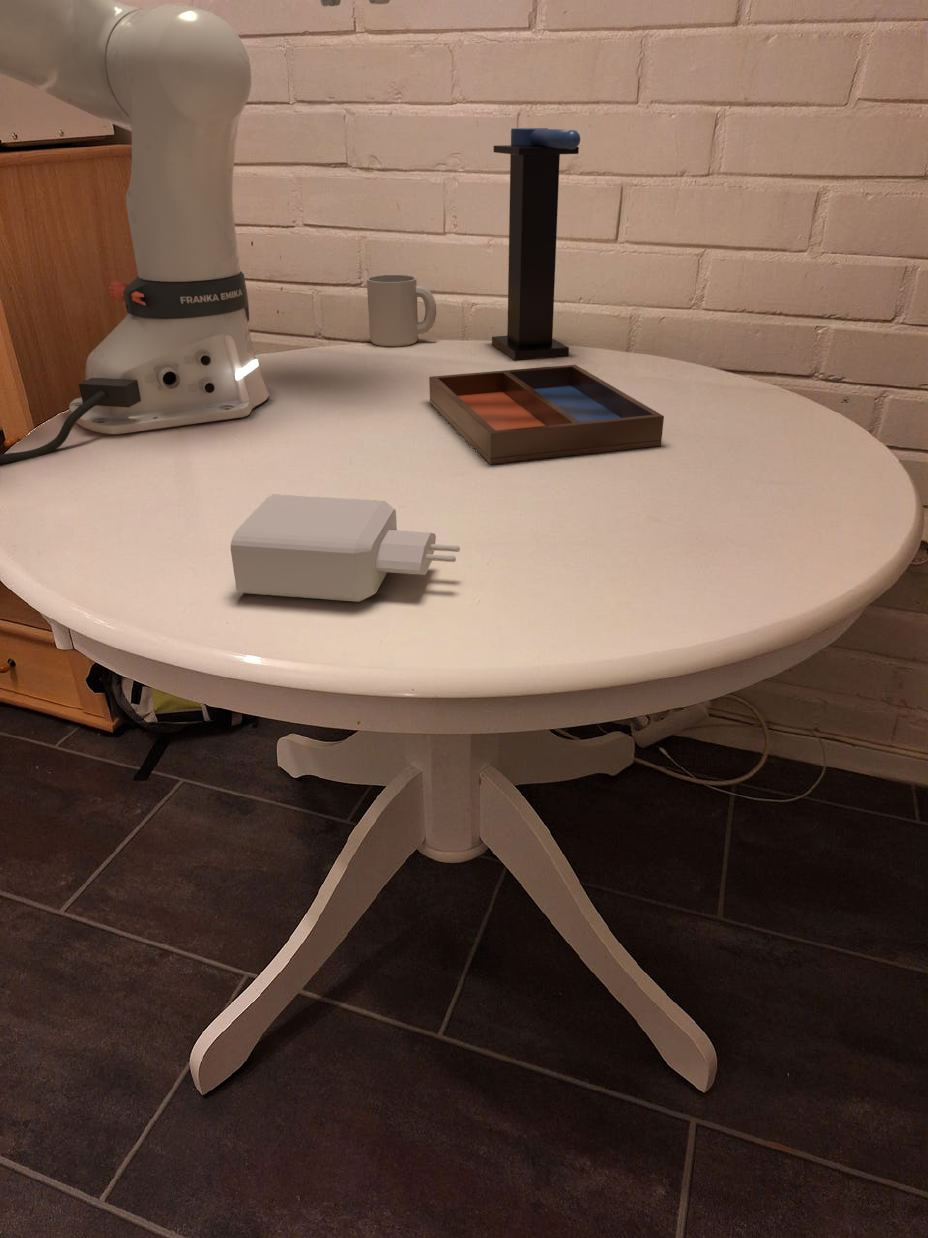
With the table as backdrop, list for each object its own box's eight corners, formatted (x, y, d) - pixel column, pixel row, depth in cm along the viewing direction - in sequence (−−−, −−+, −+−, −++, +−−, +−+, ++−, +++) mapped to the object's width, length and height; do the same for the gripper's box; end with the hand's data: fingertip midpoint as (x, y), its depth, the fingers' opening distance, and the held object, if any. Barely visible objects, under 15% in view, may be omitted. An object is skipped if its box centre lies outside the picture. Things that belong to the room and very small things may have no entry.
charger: (446, 615, 62) (236, 599, 64) (468, 557, 70) (281, 545, 72) (445, 551, 59) (228, 537, 62) (467, 499, 67) (274, 488, 70)
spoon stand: (568, 355, 127) (579, 146, 114) (514, 360, 125) (519, 147, 112) (542, 341, 135) (549, 144, 123) (491, 344, 133) (493, 145, 121)
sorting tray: (661, 445, 93) (664, 415, 91) (490, 464, 88) (490, 433, 86) (574, 389, 112) (575, 364, 110) (429, 402, 107) (429, 376, 105)
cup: (374, 335, 139) (371, 274, 135) (439, 336, 138) (438, 274, 134) (366, 346, 133) (362, 282, 128) (434, 347, 132) (432, 282, 128)
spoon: (593, 148, 107) (594, 129, 106) (555, 149, 106) (556, 130, 105) (539, 144, 122) (540, 127, 121) (505, 145, 121) (506, 128, 120)
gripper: (256, -145, 98) (282, 9, 106) (366, -173, 85) (386, 5, 93) (305, -146, 101) (326, 4, 109) (419, -174, 88) (433, -1, 96)
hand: (355, 4), depth 101 cm, fingers open, 8 cm apart
